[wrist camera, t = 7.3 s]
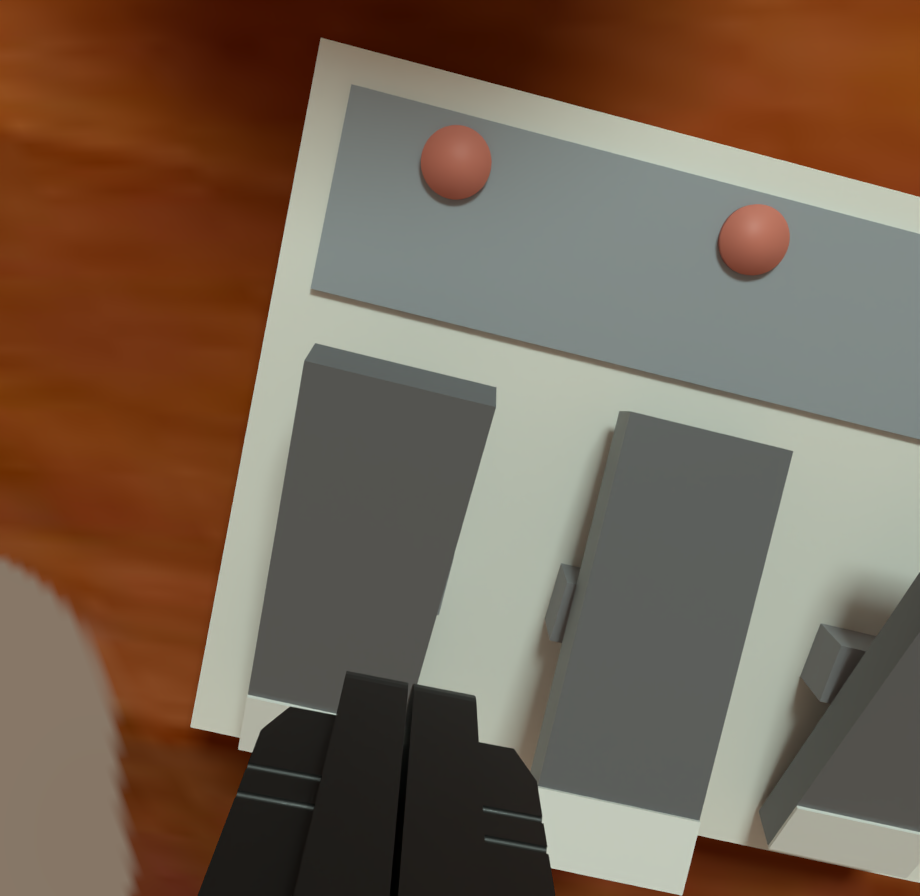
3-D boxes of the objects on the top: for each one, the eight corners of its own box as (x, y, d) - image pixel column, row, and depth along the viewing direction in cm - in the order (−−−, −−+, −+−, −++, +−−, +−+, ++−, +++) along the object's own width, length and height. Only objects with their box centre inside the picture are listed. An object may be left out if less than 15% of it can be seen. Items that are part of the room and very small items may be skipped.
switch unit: (337, 61, 24) (311, 24, 20) (1116, 267, 25) (1248, 274, 21) (217, 677, 29) (175, 754, 25) (879, 820, 30) (947, 917, 26)
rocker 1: (314, 342, 20) (303, 362, 19) (496, 387, 20) (496, 408, 19) (250, 716, 25) (238, 749, 24) (394, 747, 25) (389, 781, 24)
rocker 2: (619, 410, 23) (631, 411, 22) (773, 448, 23) (794, 451, 22) (514, 836, 23) (520, 861, 22) (667, 868, 23) (682, 895, 22)
